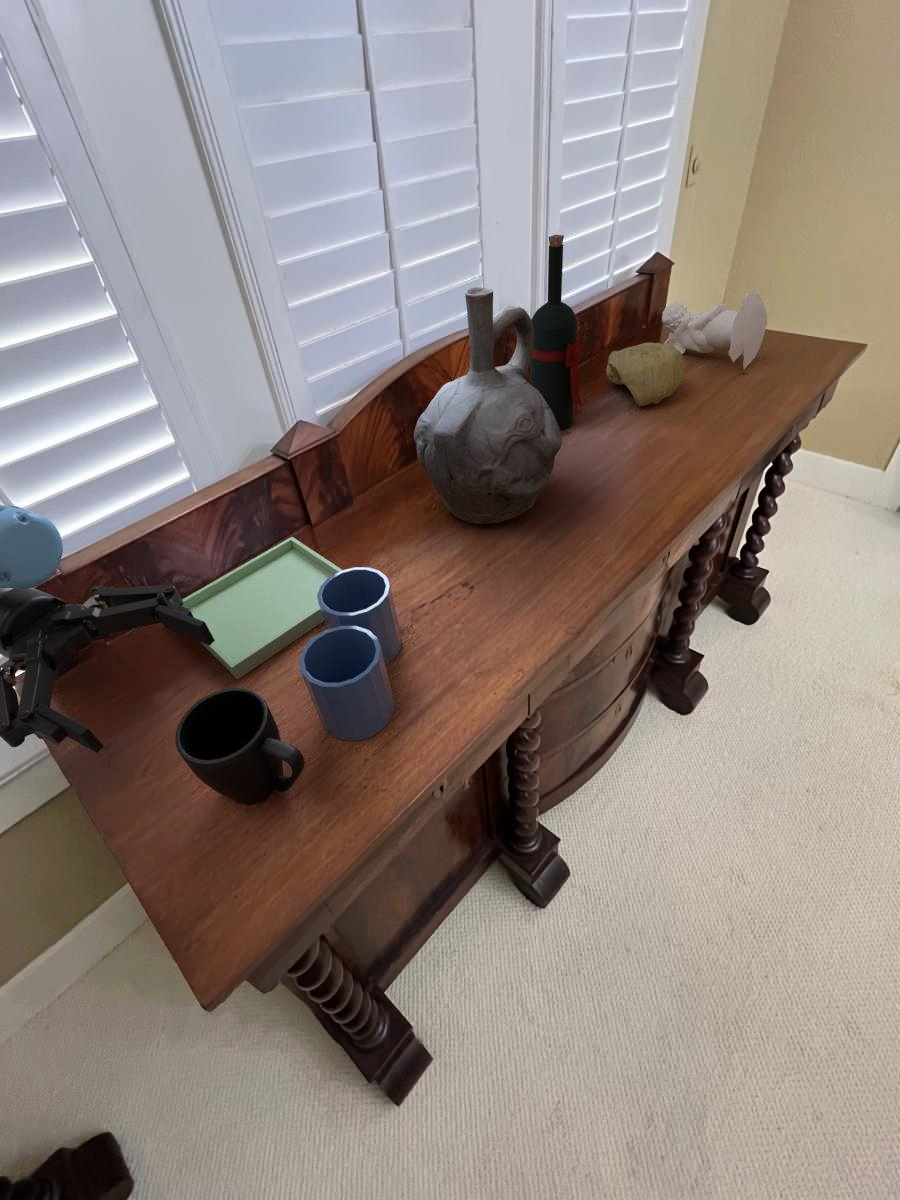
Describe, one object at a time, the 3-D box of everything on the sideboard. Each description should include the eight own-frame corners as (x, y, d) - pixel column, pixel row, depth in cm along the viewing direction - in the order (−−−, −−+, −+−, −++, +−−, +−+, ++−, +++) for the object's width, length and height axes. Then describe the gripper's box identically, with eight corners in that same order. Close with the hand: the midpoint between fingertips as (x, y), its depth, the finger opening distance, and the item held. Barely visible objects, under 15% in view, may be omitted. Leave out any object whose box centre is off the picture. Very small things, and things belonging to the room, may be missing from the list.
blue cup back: (341, 679, 67) (322, 623, 61) (331, 632, 73) (313, 577, 67) (408, 659, 68) (396, 603, 62) (393, 615, 74) (381, 560, 68)
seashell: (688, 400, 115) (629, 366, 122) (711, 348, 107) (645, 314, 113) (635, 431, 108) (575, 393, 114) (654, 378, 99) (588, 340, 106)
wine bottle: (564, 440, 103) (573, 246, 83) (520, 424, 109) (519, 239, 89) (591, 423, 107) (606, 233, 86) (548, 409, 112) (552, 228, 92)
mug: (292, 848, 53) (260, 795, 46) (196, 799, 57) (154, 744, 51) (343, 773, 58) (320, 716, 51) (251, 733, 62) (219, 676, 56)
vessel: (447, 454, 103) (426, 264, 83) (572, 462, 97) (583, 259, 77) (399, 536, 86) (359, 323, 66) (547, 552, 80) (553, 323, 60)
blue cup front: (327, 751, 60) (304, 696, 54) (316, 693, 66) (295, 638, 60) (402, 727, 61) (388, 672, 55) (385, 673, 67) (371, 617, 61)
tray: (237, 679, 68) (231, 668, 67) (176, 618, 77) (169, 606, 76) (364, 593, 77) (360, 581, 76) (295, 547, 87) (292, 536, 85)
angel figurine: (655, 371, 132) (679, 321, 131) (744, 382, 119) (771, 325, 118) (633, 337, 121) (659, 282, 120) (727, 344, 108) (757, 282, 108)
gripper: (129, 576, 73) (257, 622, 64) (-75, 731, 57) (58, 819, 49) (98, 527, 67) (233, 570, 59) (-134, 683, 52) (3, 772, 44)
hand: (154, 683), depth 54 cm, fingers open, 13 cm apart
